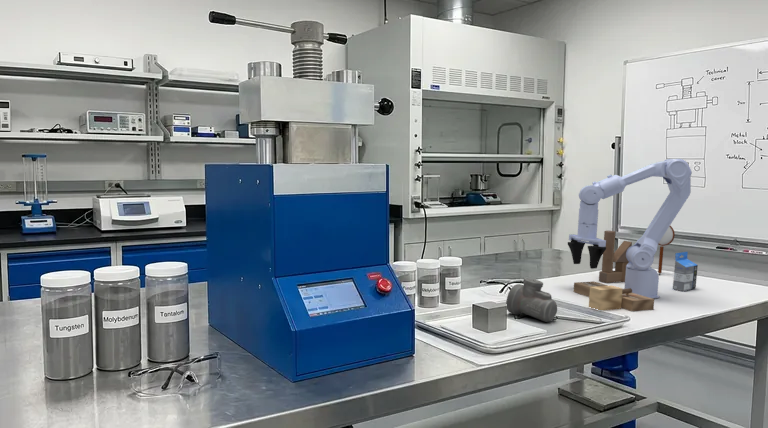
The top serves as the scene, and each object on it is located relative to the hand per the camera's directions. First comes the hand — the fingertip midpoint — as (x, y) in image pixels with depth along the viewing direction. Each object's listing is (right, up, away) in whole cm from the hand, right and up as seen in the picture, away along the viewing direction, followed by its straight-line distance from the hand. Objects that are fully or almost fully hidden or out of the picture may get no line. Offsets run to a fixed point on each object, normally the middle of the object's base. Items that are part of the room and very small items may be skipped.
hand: (584, 266), depth 178 cm
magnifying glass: (+40, -7, +34) cm, 53 cm away
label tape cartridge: (+37, -9, +10) cm, 39 cm away
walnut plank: (+5, -9, -9) cm, 14 cm away
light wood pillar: (+1, -10, -18) cm, 21 cm away
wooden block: (+17, -7, +19) cm, 27 cm away
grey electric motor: (-25, -11, -31) cm, 42 cm away
